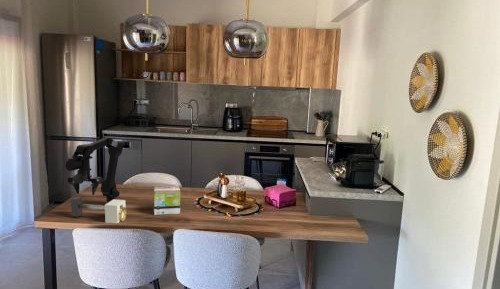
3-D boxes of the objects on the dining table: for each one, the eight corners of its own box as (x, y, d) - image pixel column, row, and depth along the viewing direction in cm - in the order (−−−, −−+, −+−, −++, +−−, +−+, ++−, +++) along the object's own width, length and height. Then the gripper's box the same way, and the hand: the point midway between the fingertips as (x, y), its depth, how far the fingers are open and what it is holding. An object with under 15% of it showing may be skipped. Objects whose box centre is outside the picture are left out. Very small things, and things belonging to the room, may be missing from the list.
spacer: (124, 217, 216) (124, 205, 215) (126, 218, 216) (126, 205, 215) (118, 222, 209) (118, 209, 208) (120, 222, 209) (120, 209, 208)
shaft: (75, 213, 218) (75, 196, 216) (119, 216, 215) (118, 199, 213) (71, 216, 214) (70, 198, 212) (115, 219, 211) (115, 201, 209)
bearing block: (114, 216, 218) (113, 199, 217) (125, 217, 218) (125, 200, 216) (105, 222, 209) (104, 204, 207) (117, 223, 208) (117, 205, 206)
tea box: (154, 215, 221) (153, 191, 219) (153, 210, 231) (153, 186, 228) (180, 213, 225) (180, 189, 223) (178, 208, 235) (178, 185, 232)
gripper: (60, 169, 207) (61, 197, 210) (92, 171, 205) (93, 199, 207) (72, 165, 218) (73, 191, 220) (102, 167, 216) (104, 193, 218)
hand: (85, 194), depth 216 cm, fingers open, 9 cm apart
